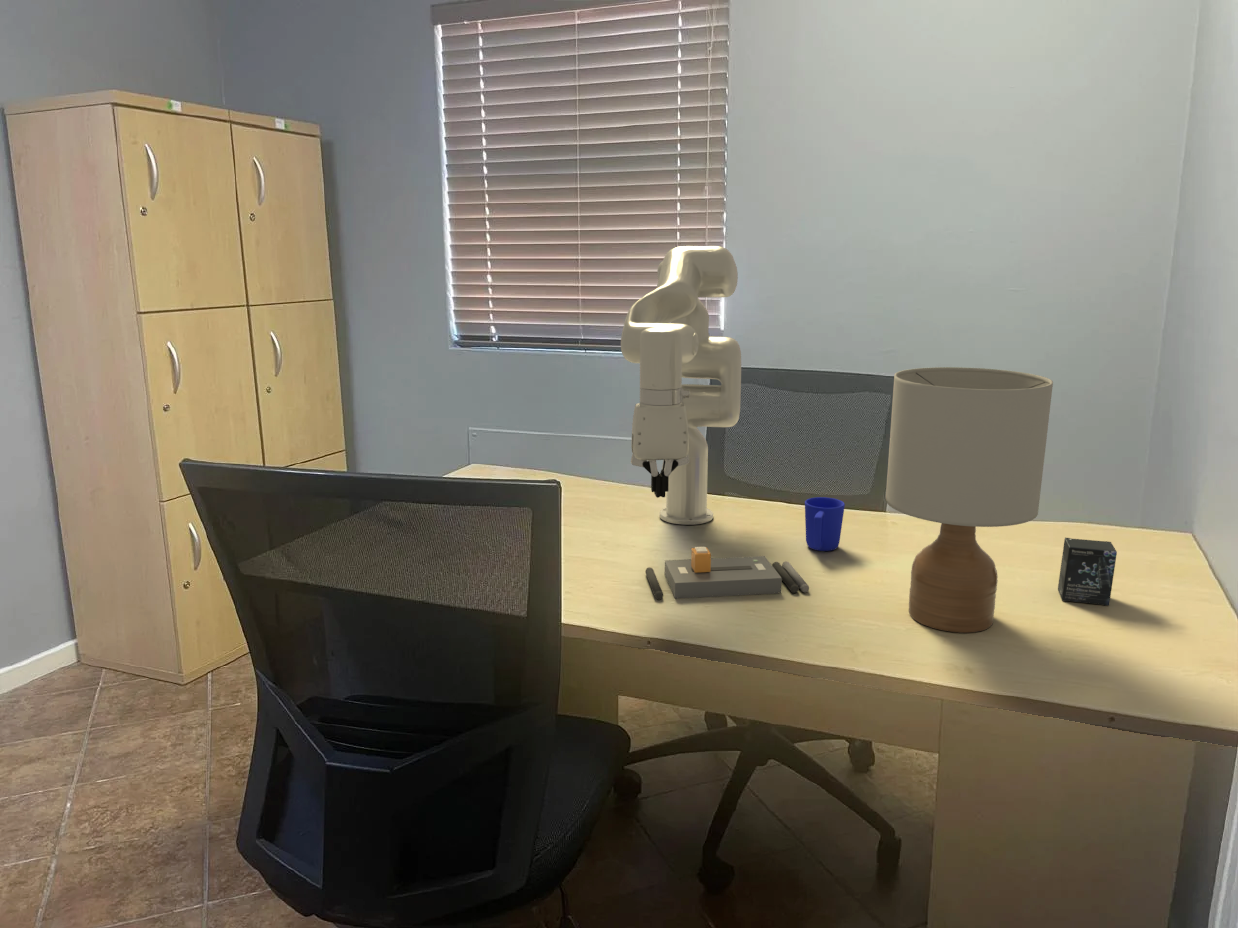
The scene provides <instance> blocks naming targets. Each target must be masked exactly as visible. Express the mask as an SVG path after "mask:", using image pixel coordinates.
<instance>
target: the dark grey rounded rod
mask: <svg viewBox="0 0 1238 928" xmlns="http://www.w3.org/2000/svg"><path fill="white" fill-rule="evenodd" d="M645 574H646V578H647V580H648V583H649V584H650V588H651V590H652V593H653V595H654V598H655V599H656V600H661V599H663V598H664V592H663V590H662V588H661V585H660V582H659V580H658V578H657V576H656V573H655V570H654V569H653V567H647V568H646V569H645Z"/></svg>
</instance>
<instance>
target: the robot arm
mask: <svg viewBox="0 0 1238 928" xmlns="http://www.w3.org/2000/svg"><path fill="white" fill-rule="evenodd" d="M735 261H736V260H735V259H734V256H733V254H732V253H731V251H729V250H728V249H727V248H726V247H723V246H720V245H719V246H718V245H707V246H705V245H704V246H703V245H700V246H698V245H694V246H693V245H686V246H685V245H683V246H676V247H674V248H671V249H669V251H667V252H666V253H665V255H664V257H663V259H662V261H661V262H660V263H659V264H658V267H657V272H656V273H657V285H656V288H655V289H654V290H651V291H650V292H648V293H646V294H645V295H643V297H641V298H640V299H638V300H636V302H634V303H633V304H632V305H631V306H630V308H629V309H628V311H627V313H626V316H625V320H624V324H623V328H622V331H621V337H620V350H621V354H622V356H623V359H625V360H626V361H627V362H630V363H632V364H639V402H637V403H636V404H635V405H634V408H633V415H632V423H631V424H632V426H631V441H630V442H631V443H630V445H631V447H630V448H631V453H632V454H631V458H630V464H631V465H632V466H634V467H638V468H639V467H641V468H644V469H645V470H646V472H648V473H649V474H650V484H651V485H650V487H651V488H650V489H651V492H652V493H654V495H655V497H656V498H657V499H658V498H660V497H661V498H666V500H665V501H666V502H665V503H666V505H665V506H666V507H664V508H662V509H661V510H660V511H659V518H660V519H661V520H662V521H664V522H666V523H669V524H675V525H685V526H692V525H700V524H705V523H706V524H707V523H709V522H710V521H712V520H713V518H714V512H713V511H712V510H711V509H709V508H708V507H707V506H708V466H709V465H708V462H709V460H708V459H709V456H708V455H709V454H708V453H709V447H708V446H709V445H708V441H707V440H706V438H705V436H704V435H703V434H702V432H701V431H700V430H699V428H702V427H706V428H708V427H709V428H710V427H711V428H731V427H734V426H735V425H736V424H737V423H738V421H739V419H740V415H741V414H740V413H741V401H742V400H741V394H742V393H741V392H742V390H741V389H742V351H741V347H740V344H739V342H738V341H737V340H736V339H735V338H732V337H729V336H710V334H709V326H710V315H709V311H708V310H707V308H706V307H705V305H704V303H703V302H702V301H701V299H700V298H728V297H731V296H732V295H734V292H736V290H737V287H738V278H739V277H738V273H739V272H738V267H737V264H736V262H735ZM682 379H699V380H700V379H701V380H704V379H705V380H717V381H719V382H720V385H719V384H718V385H717V384H691V383H687V384H686V383H682V381H683V380H682ZM657 461H662V466H661V470H660V472H659V469H658V465H657V464H658V463H657Z"/></svg>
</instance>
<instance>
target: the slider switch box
mask: <svg viewBox="0 0 1238 928" xmlns="http://www.w3.org/2000/svg"><path fill="white" fill-rule="evenodd" d="M772 565H773V564H771V562H770V561H769V560H768V558H767V556H765V555H759V556H758V555H757V556H756V555H755V556H752V555H751V556H732V557H731V556H730V557H712V558H711V572H698V573H695V572H694V570H693V568H692V566H691V558H690V559H689V558H687V559H665V560H664V577H665V579H666V580H667V583H668V586H669V588H670V590H671V592H672V594H673V597H674V599H686V598H687V599H689V598H691V599H693V598H710V597H729V596H730V597H732V596H748V595H750V596H751V595H755V596H756V595H771V594H775V595H776V594H782V585H783V584H782V581H783V580H782V578H781V576H780V575H779V574H778V573H777V571H776V570H775V569H774V567H773V566H772Z"/></svg>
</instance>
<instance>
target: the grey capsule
mask: <svg viewBox="0 0 1238 928" xmlns="http://www.w3.org/2000/svg"><path fill="white" fill-rule="evenodd" d="M771 565H772V566H773V567H774V569H775V570H776V571H777V573H778V574H779V575H780V576H781V578H782V581H783V583H784V584H785V585H786V587H787V588H788V589H789V590H790V592H791V593H792V594H796V593H798V592H799V590H800V588H799V587H798V586H797V584H796V583H795V582H794V581H793V579H792V578H791V577H790V576H789V574H788V573H787V572H786V571H785V569H784V568H783V567H782V564H781V563H780V562H778V561H774V562H772V564H771Z"/></svg>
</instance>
